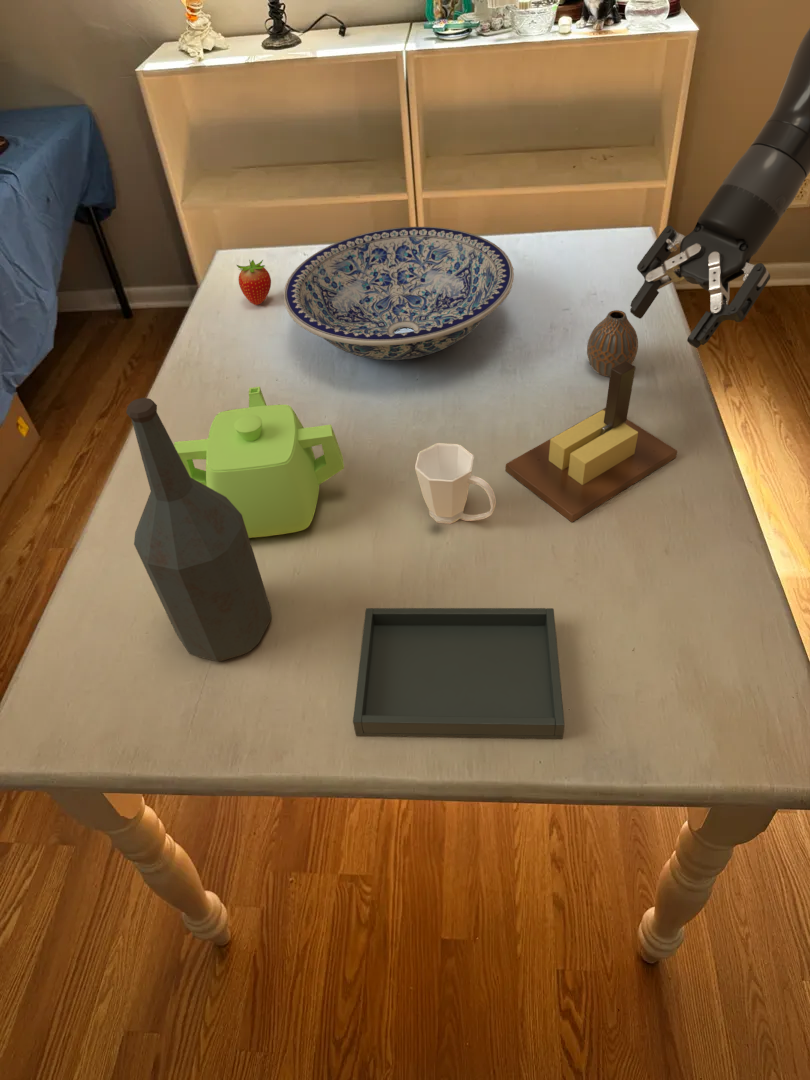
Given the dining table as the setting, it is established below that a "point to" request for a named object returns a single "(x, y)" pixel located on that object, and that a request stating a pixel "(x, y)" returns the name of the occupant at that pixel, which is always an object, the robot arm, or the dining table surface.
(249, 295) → the fruit
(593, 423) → the butter
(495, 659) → the tray
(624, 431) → the butter
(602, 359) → the vase
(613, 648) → the dining table surface
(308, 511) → the teapot
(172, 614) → the bottle
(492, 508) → the cup
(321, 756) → the dining table surface
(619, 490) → the board
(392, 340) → the ceramic bowl
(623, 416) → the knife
